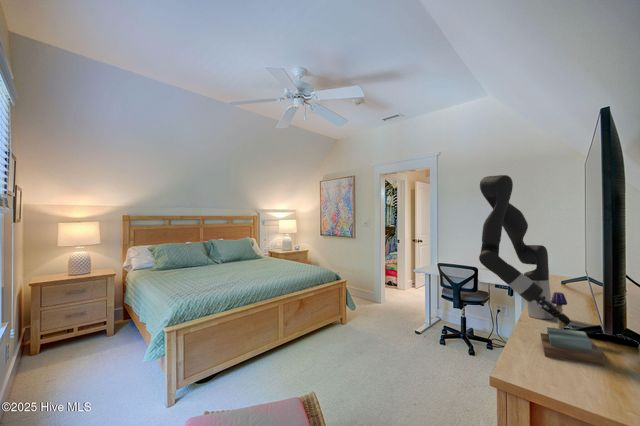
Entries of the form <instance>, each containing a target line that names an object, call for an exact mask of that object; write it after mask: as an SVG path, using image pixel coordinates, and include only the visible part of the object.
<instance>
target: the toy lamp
mask: <svg viewBox="0 0 640 426" xmlns="http://www.w3.org/2000/svg"><path fill="white" fill-rule="evenodd" d="M551 302H552V303H553V304H554V305H555V306H557V310H558V311H559V312H561V313H562V314H564V313H563V306H566V305H568V301H567V298H566V296H565V294H564V293H563V292H557V291H555V292H553V294H552V296H551ZM556 322H557V327H558V328H557V329H564V328H565V326H564V325H565V324H564V323H563V322H562V321H560V320H559V319H558V318H557V321H556Z"/></svg>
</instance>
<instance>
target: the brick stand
mask: <svg viewBox="0 0 640 426" xmlns="http://www.w3.org/2000/svg"><path fill="white" fill-rule="evenodd" d="M546 331H547V333H541V332H540V341H541V345H542V349H543V353H544V357H547V358H552V359H553V358H554V359H559V360H564V361H565V360H566V361H571V362H576V363H577V362H578V363H582V364H583V363H584V364H589V365H595V366H600V367H601V366H603V367H605V360H604V355H603V353H602V352H601V351H600V349H599V348H598V346H597V344H596V343H595V341H594V340H593V339H590V338H589V336H588V335H587V333H586V332H585V331H582V330H581V331H580V330H573V329H564V328H563V329H558V328H555V327H546Z"/></svg>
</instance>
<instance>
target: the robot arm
mask: <svg viewBox="0 0 640 426" xmlns="http://www.w3.org/2000/svg"><path fill="white" fill-rule="evenodd" d="M513 187H514V184H513V179H512V177H510V176H509V175H506V174H501V175H500V174H499V175H490V176H489V175H488V176H485V177H483V178H482V179H481V180H480V182H479V189H480V192H481V194H482V195H483V197H484V199H485V200H486V201H487V203H488V204H489V205H490V207H491V209H492V210H491V212H490V213H489V214H488V216H487V217H486V218H485V221H484V223H483V226H482V231H481V232H482V233H481V246H480V247H481V248H480V253H479V256H478V260H479V262H480V264H482V266H484V267H485V268H486V269H487V270H489V271H490V272H492V273H493V274H494V275H496V276H497V277H498V278H499V279H500V280H501V281H503V282H504V283H506V285H508V287H510V288H511V290H513V291H514V292H516V294H517V295H519V296H520V297H521V298H522V299H524V300H525V301H526V306H527V315H528V317H531V318H534V319H540V320H552V319H553V318H558V319H559V320H560V321H562V322H563V325H566V326H569V325H570V324H571V323H572V320H571V319H570V318H569V317H568V316H567V315H566V314H565V313H563V312H562V313H563V314H562V313H561V312H559V311H558V310H557V306H556V304H553V303H552V302H551V300H552V296H551V295H552V293H551V287H550V286H551V285H550V277H549V276H550V271H549V255H548V250H547V248H546V247H545V246H544V245H543V244H532V245H531V244H526V243H525V242H524V238H525V235H526V233H527V232H528V229H529V224H528V221H527V219H526V218H525V215H524V214H523V212H522V211H521V210H520V209H518V207H516V206H514V205H513V204H511V203H510V199H511V195H512V193H513ZM503 230H504V231H505V233H506V234H507V237H508V238H509V239H510V240H509V241H511V245H512V246H513V249H514V252H515V254H516V257H517V258H518V260H519V261H520V263H522V264H524V265H534V266H535V265H536V267H535V269H533V270H530V271H529V270H528V271H526V272H524V273H522V272H521V271H519V270H518V269H517V268H515V267H514V266H513V265H511V264H509V263H507V262H506V261H505V260H504V259H503V258H501V257H500V255H499V254H500V244H501V241H502V240H501V238H502V231H503ZM558 319H557V320H558Z"/></svg>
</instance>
